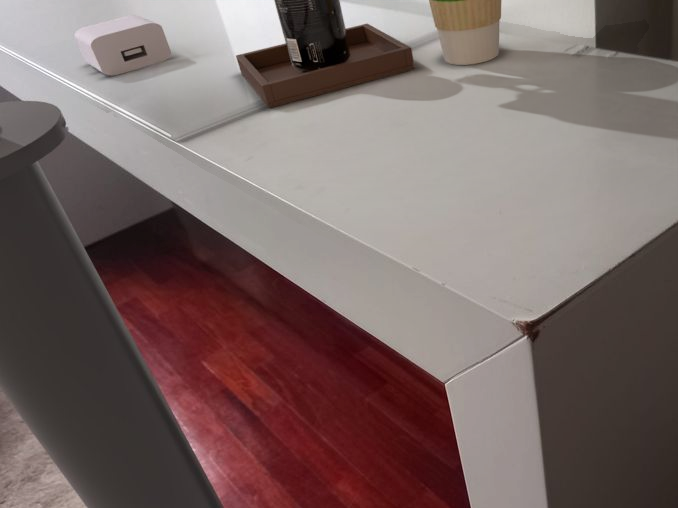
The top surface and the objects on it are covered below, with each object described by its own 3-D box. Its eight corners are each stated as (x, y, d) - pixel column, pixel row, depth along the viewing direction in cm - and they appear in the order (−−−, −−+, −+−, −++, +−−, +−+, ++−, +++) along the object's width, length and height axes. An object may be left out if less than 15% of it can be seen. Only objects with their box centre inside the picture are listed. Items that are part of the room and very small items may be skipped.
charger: (140, 42, 103) (173, 58, 93) (77, 59, 99) (105, 78, 89) (126, 7, 100) (159, 20, 90) (60, 24, 96) (88, 39, 86)
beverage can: (331, 55, 83) (304, -60, 75) (364, 63, 78) (340, -58, 71) (282, 72, 79) (249, -46, 72) (314, 81, 75) (283, -43, 68)
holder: (269, 108, 72) (262, 86, 70) (241, 75, 82) (235, 55, 81) (414, 69, 76) (411, 47, 75) (371, 42, 87) (367, 23, 85)
